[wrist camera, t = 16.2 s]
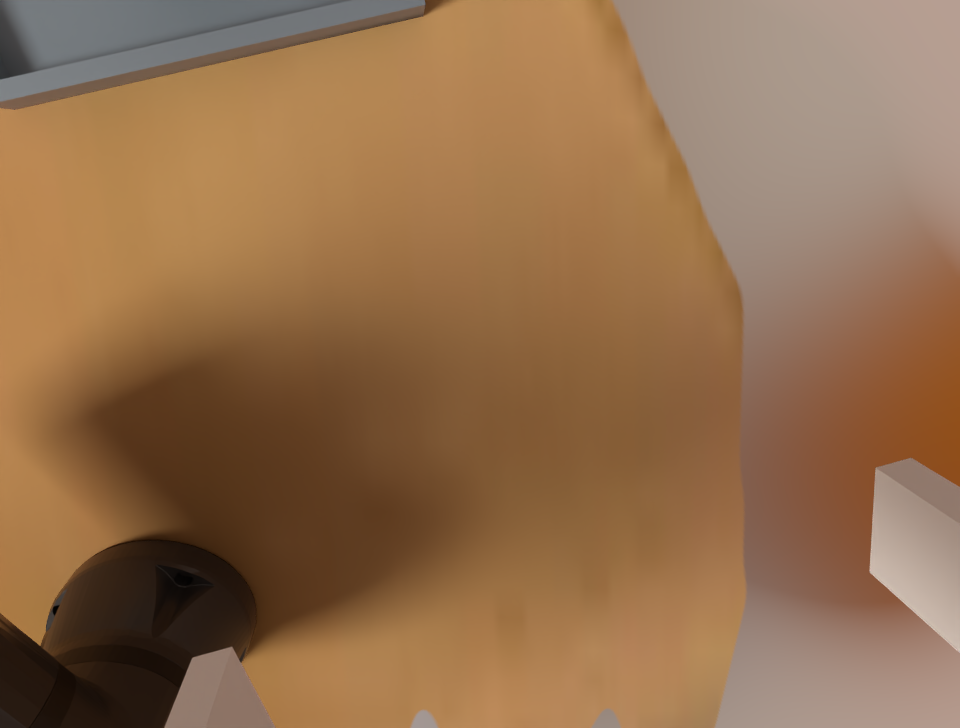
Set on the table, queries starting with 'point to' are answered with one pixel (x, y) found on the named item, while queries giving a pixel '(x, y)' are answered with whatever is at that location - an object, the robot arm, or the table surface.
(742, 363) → the table surface
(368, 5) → the tray
